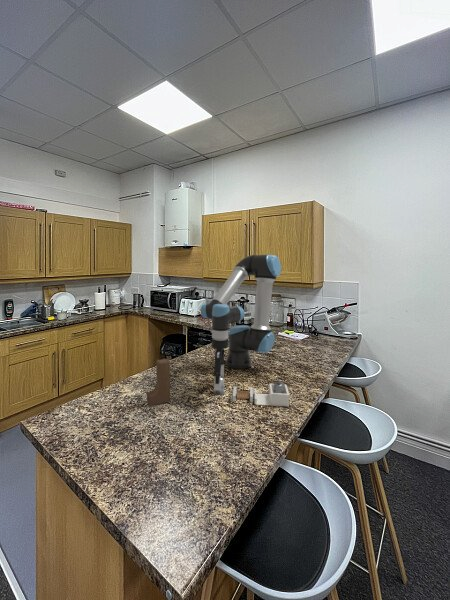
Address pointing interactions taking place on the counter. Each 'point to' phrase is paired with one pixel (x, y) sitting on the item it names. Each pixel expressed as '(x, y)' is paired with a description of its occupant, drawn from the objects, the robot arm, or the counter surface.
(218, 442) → the counter surface
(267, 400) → the rack
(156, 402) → the wooden block
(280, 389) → the cell
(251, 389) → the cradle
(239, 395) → the plate
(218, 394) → the cell
